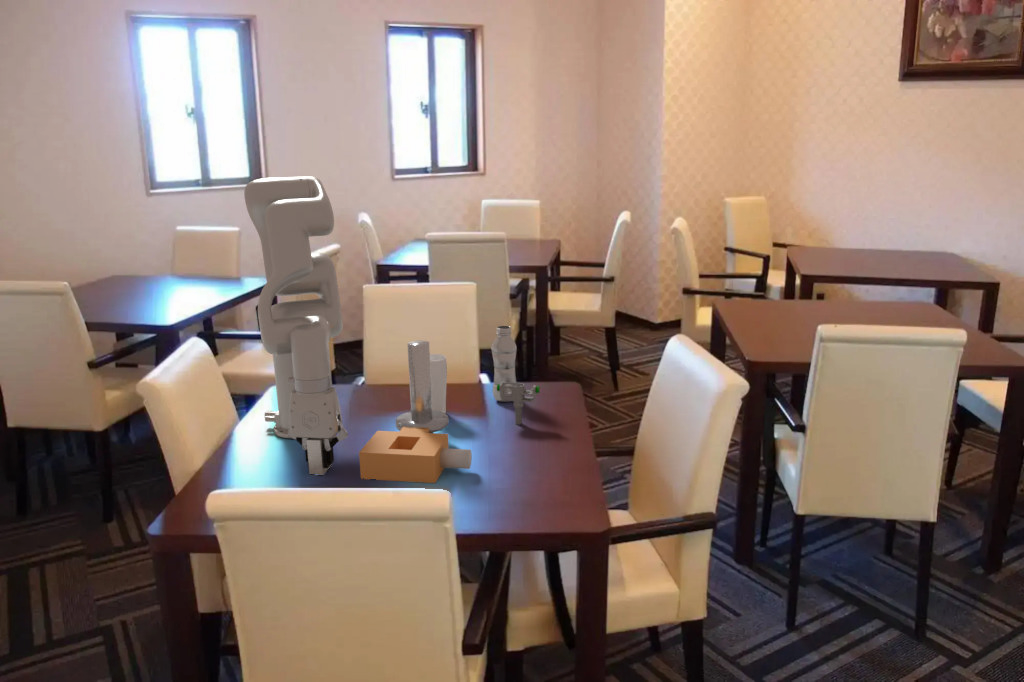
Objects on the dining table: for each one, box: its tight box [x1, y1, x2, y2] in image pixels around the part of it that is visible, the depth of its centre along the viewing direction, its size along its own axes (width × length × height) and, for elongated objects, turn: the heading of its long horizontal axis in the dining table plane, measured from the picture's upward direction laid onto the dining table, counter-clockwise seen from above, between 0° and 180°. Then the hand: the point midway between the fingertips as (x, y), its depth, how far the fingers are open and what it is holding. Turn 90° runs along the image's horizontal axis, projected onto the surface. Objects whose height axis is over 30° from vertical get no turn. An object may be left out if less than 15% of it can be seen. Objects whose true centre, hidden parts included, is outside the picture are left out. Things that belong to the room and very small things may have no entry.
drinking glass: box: [430, 353, 448, 414], centre depth 202 cm, size 7×7×15 cm
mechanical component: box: [497, 382, 541, 426], centre depth 195 cm, size 3×10×10 cm, turn 78°
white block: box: [306, 438, 333, 476], centre depth 171 cm, size 3×5×8 cm, turn 171°
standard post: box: [395, 340, 450, 433], centre depth 182 cm, size 12×12×24 cm
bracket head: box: [358, 427, 473, 484], centre depth 173 cm, size 22×15×6 cm
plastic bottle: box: [490, 325, 517, 403], centre depth 210 cm, size 6×7×20 cm
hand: (320, 464), depth 172 cm, fingers closed on white block, 3 cm apart
